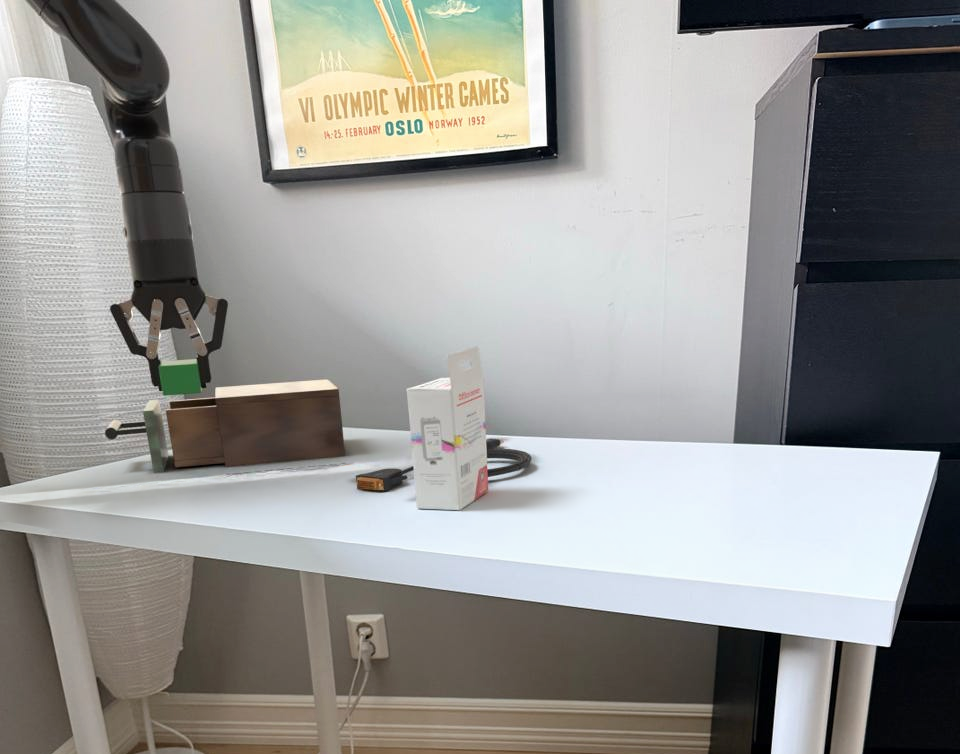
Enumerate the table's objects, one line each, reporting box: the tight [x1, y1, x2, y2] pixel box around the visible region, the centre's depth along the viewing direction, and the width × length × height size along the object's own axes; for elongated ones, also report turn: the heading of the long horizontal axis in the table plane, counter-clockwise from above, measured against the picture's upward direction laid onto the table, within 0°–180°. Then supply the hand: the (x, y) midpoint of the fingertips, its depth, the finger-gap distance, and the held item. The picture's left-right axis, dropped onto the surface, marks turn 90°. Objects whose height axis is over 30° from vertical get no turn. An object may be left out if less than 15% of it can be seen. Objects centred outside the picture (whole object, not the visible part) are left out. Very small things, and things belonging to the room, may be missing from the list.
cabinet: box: [214, 379, 347, 475], centre depth 118 cm, size 15×13×9 cm
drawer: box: [104, 396, 225, 474], centre depth 116 cm, size 18×11×7 cm, turn 105°
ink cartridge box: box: [406, 345, 489, 511], centre depth 92 cm, size 9×5×15 cm, turn 160°
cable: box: [355, 438, 532, 493], centre depth 108 cm, size 14×28×2 cm, turn 146°
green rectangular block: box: [159, 358, 203, 397], centre depth 113 cm, size 4×8×3 cm, turn 15°
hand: (183, 388), depth 114 cm, fingers closed on green rectangular block, 4 cm apart
